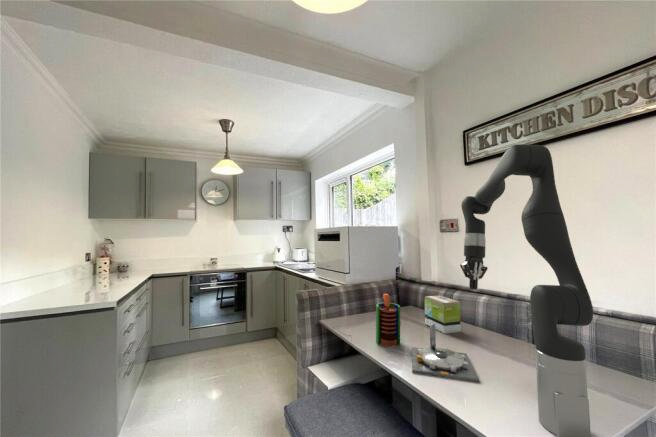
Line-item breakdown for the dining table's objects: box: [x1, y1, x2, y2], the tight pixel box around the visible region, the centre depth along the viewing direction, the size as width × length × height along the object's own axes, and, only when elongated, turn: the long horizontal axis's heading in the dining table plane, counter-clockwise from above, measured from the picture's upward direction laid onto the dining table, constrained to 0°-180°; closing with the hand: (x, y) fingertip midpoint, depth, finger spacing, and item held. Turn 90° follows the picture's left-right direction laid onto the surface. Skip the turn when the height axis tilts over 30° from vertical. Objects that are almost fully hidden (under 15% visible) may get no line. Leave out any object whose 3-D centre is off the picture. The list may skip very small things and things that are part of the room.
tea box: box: [424, 295, 462, 334], centre depth 137 cm, size 15×10×15 cm
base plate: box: [411, 346, 480, 383], centre depth 97 cm, size 20×20×1 cm
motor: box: [375, 293, 401, 347], centre depth 118 cm, size 10×9×20 cm
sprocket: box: [417, 324, 468, 372], centre depth 97 cm, size 17×17×10 cm
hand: (473, 289), depth 106 cm, fingers closed
